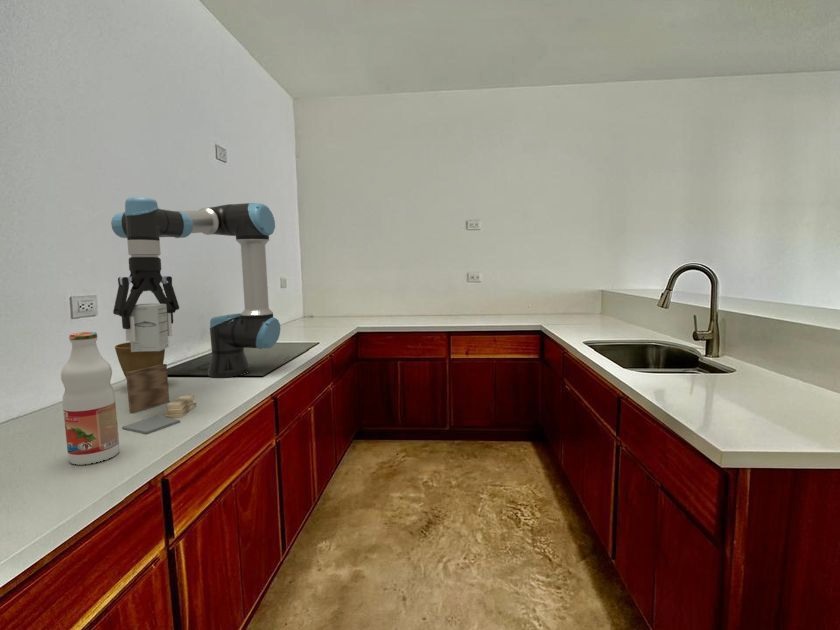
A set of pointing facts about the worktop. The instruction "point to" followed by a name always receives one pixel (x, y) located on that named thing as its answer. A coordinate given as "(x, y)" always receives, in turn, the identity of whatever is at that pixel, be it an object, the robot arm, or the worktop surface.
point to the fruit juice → (89, 403)
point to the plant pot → (137, 358)
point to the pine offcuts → (180, 406)
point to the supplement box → (150, 327)
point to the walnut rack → (147, 387)
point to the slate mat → (151, 424)
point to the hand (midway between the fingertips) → (150, 338)
